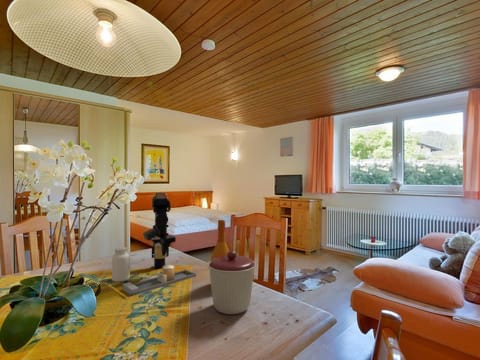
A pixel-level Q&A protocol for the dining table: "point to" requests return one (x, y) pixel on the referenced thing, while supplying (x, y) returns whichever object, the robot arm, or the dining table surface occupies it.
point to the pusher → (160, 277)
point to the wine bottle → (220, 242)
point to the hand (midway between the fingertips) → (160, 254)
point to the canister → (231, 282)
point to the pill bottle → (120, 264)
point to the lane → (156, 283)
